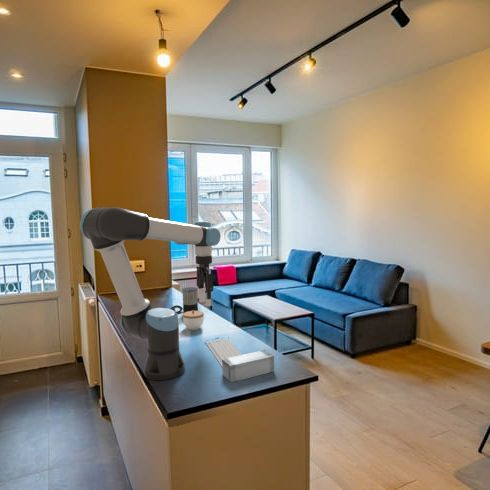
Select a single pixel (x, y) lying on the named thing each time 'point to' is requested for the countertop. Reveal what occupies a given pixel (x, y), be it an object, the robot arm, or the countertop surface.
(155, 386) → the countertop surface
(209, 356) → the countertop surface
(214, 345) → the baseboard
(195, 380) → the countertop surface
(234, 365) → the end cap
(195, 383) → the countertop surface
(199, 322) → the lidded jar
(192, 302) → the milk frother
